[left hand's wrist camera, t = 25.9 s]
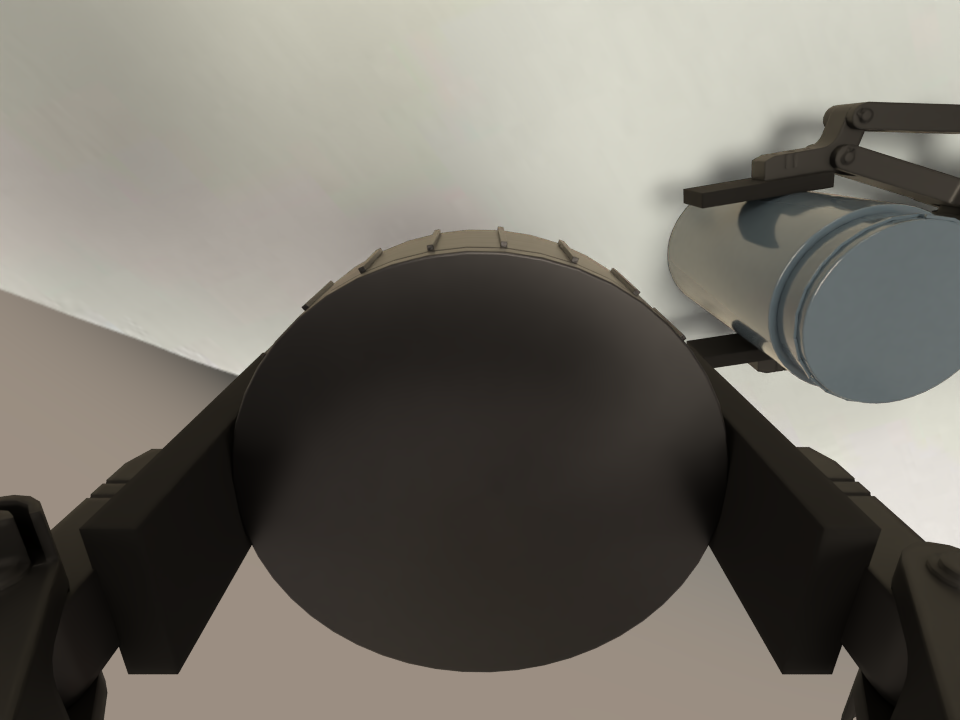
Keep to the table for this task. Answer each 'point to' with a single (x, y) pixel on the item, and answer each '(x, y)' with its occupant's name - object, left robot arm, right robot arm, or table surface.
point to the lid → (480, 454)
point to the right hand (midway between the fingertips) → (694, 280)
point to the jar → (830, 288)
